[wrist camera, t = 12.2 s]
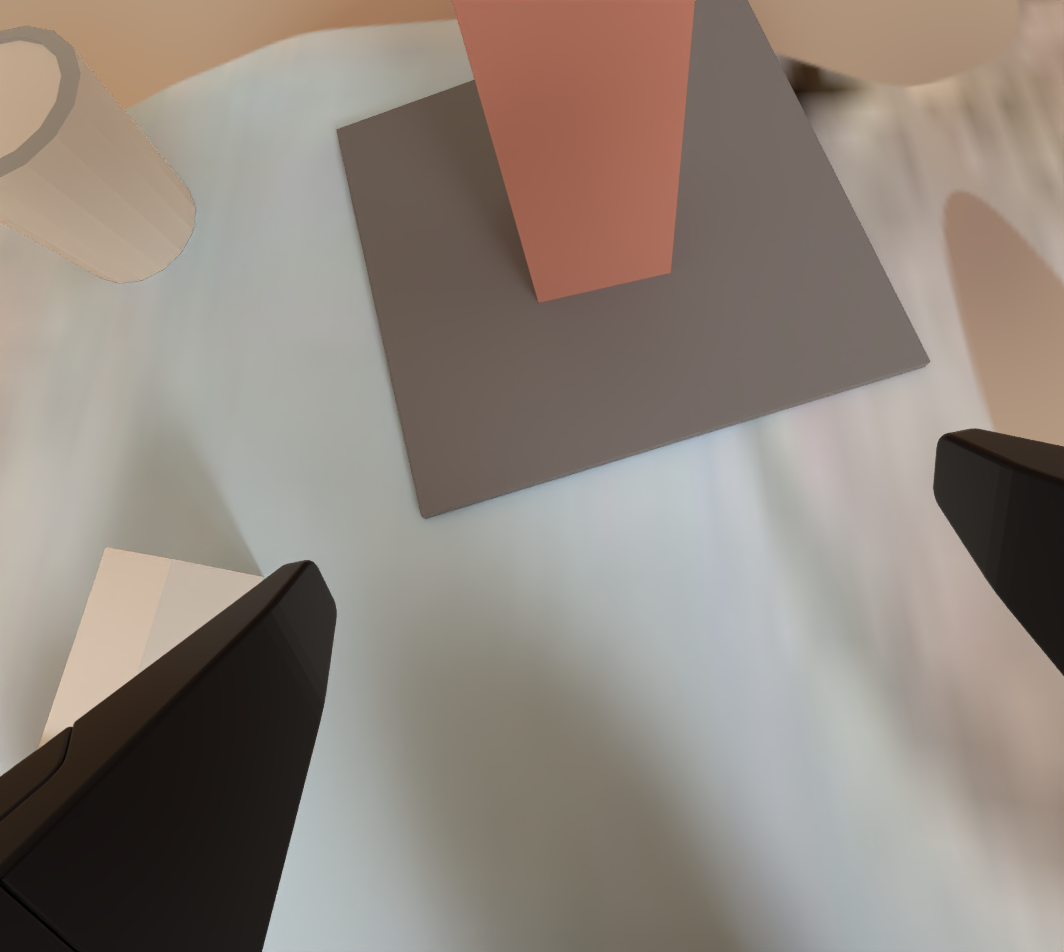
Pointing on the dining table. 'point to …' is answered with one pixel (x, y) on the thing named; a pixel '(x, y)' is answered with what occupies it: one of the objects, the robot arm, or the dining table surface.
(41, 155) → the shot glass
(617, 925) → the dining table surface
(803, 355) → the mat
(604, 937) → the dining table surface
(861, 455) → the dining table surface
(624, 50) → the card box
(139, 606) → the napkin holder
